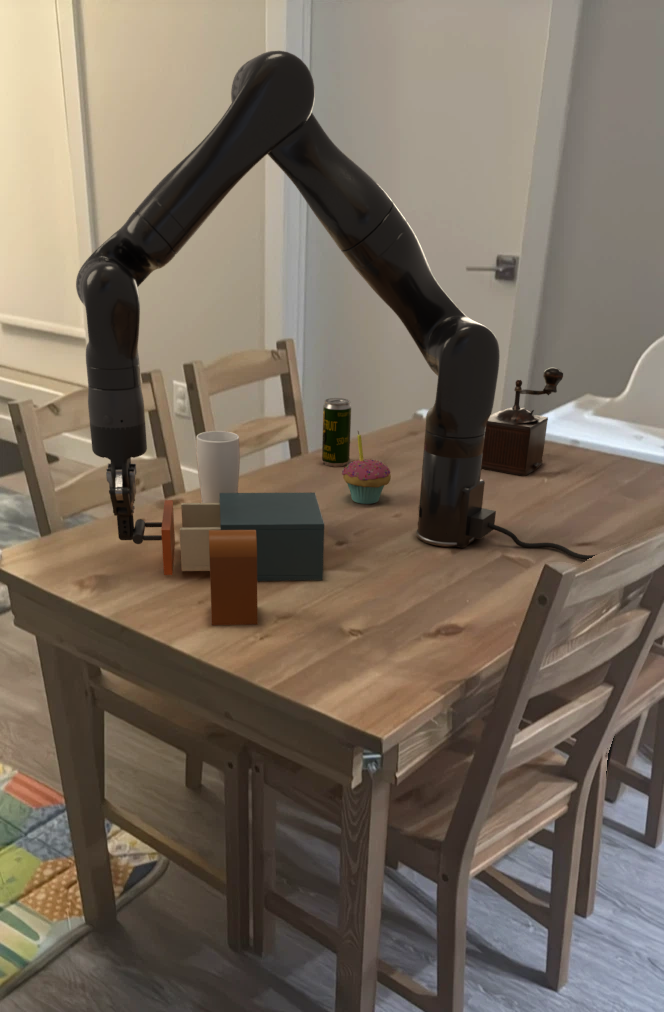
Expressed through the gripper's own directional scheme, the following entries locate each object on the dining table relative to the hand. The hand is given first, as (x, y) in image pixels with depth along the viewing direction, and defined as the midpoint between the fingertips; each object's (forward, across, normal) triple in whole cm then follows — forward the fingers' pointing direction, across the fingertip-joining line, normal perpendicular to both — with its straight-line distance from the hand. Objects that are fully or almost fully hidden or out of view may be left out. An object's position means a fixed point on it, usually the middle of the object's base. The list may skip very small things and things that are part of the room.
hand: (126, 538), depth 145 cm
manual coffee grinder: (+4, +51, -73) cm, 89 cm away
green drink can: (+4, +52, -37) cm, 63 cm away
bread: (+4, -19, -15) cm, 25 cm away
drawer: (+3, 0, -10) cm, 11 cm away
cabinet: (+4, 0, -21) cm, 21 cm away
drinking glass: (+4, +15, -14) cm, 21 cm away
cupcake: (+4, +29, -40) cm, 49 cm away
